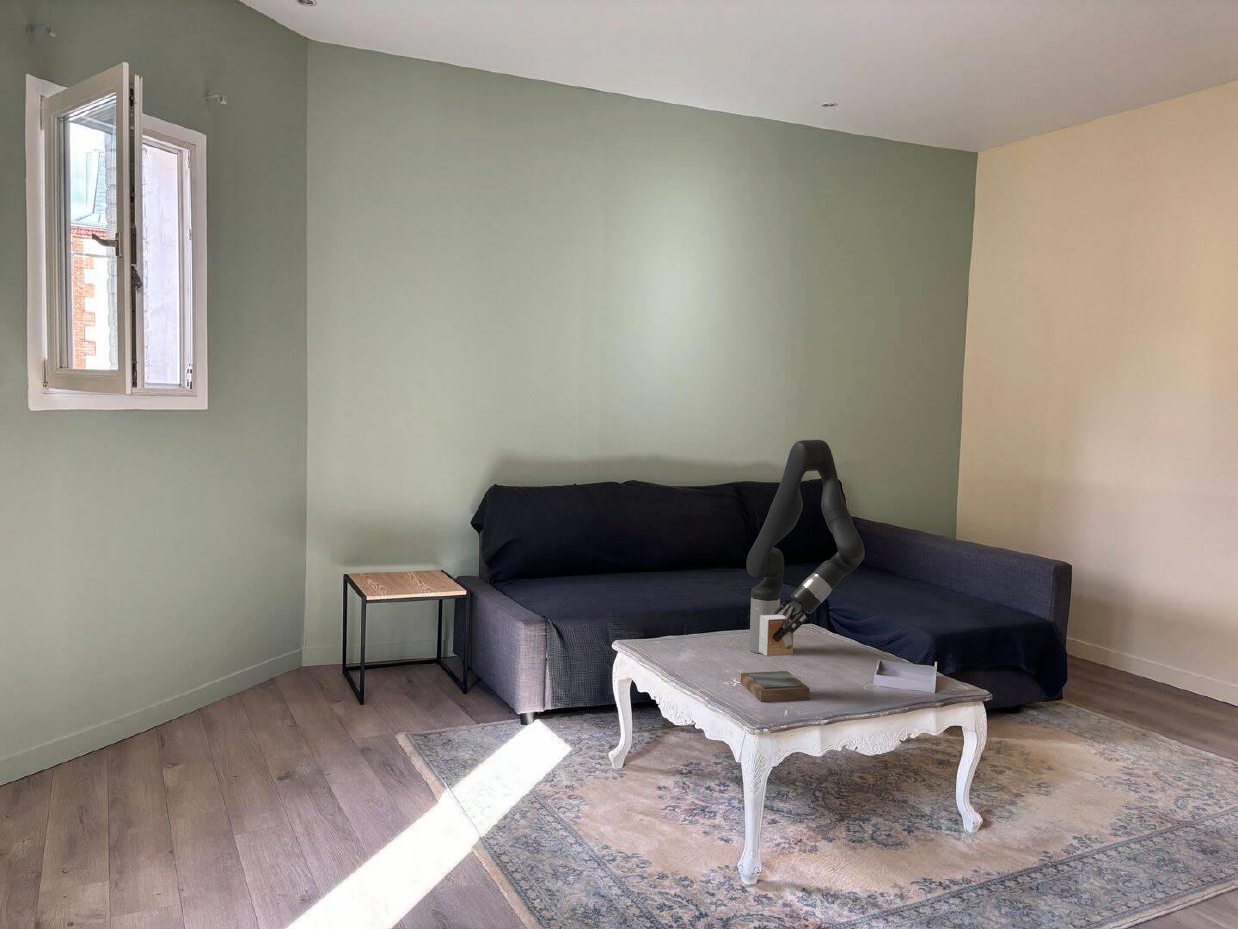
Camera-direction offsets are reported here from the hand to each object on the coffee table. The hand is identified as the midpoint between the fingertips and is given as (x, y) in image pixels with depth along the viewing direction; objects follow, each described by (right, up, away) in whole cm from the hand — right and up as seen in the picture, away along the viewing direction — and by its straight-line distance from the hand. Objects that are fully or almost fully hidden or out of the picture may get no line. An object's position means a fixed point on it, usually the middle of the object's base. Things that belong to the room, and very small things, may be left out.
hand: (770, 636), depth 261 cm
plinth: (+1, -15, +2) cm, 16 cm away
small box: (+2, -5, +1) cm, 5 cm away
